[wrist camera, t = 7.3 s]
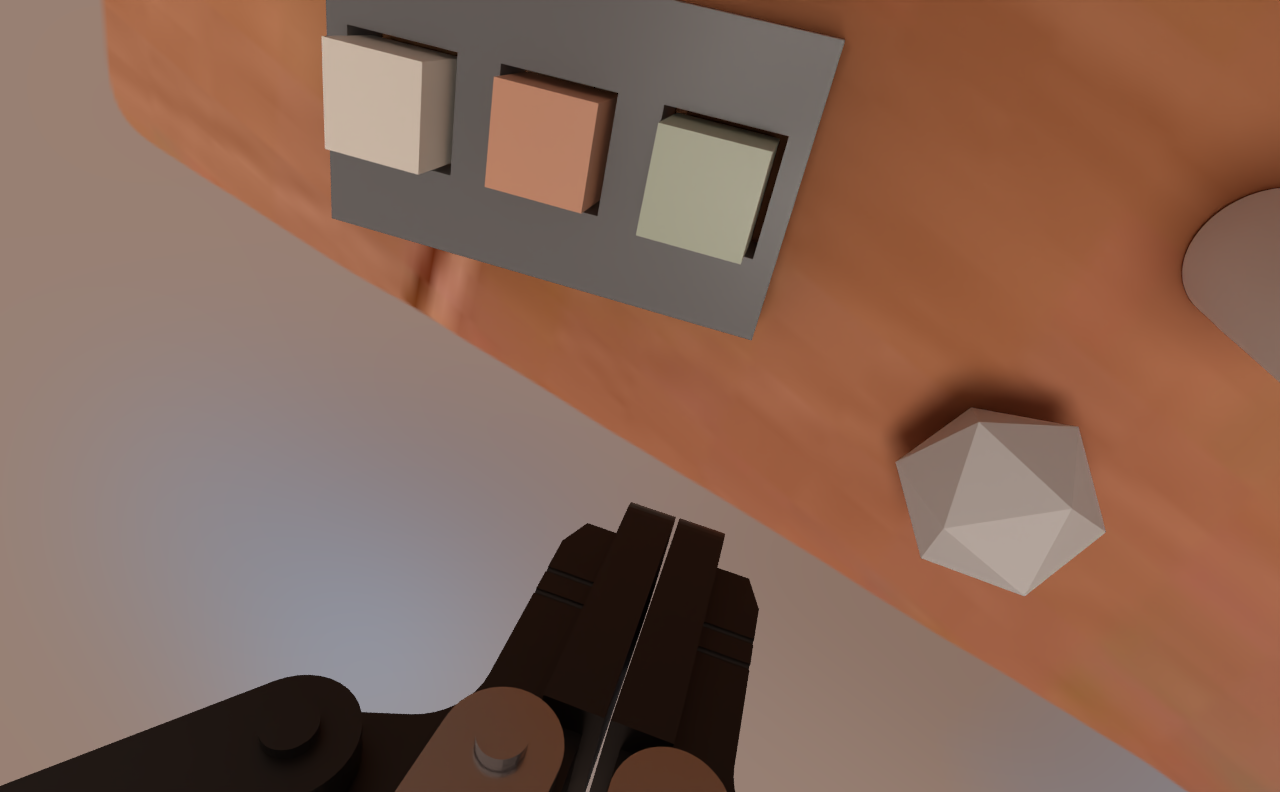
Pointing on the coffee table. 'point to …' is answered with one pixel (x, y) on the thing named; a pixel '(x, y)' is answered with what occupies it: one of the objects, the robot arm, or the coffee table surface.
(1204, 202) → the coffee table surface
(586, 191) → the key terracotta
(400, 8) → the key panel
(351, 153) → the key ivory
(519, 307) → the coffee table surface
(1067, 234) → the coffee table surface
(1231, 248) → the mug
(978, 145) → the coffee table surface
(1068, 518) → the die
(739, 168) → the key sage
